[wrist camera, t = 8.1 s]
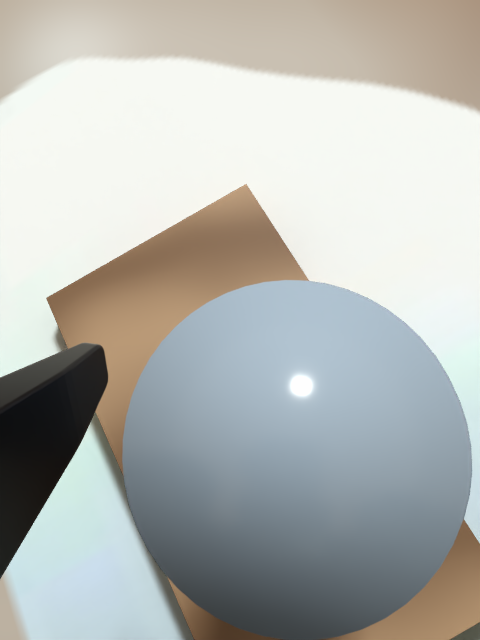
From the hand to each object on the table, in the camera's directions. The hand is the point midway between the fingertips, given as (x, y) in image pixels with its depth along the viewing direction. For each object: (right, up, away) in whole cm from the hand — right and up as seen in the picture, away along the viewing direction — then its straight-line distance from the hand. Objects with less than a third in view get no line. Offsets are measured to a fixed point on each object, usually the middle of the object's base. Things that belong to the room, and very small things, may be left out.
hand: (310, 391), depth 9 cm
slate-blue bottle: (+1, -3, +8) cm, 8 cm away
